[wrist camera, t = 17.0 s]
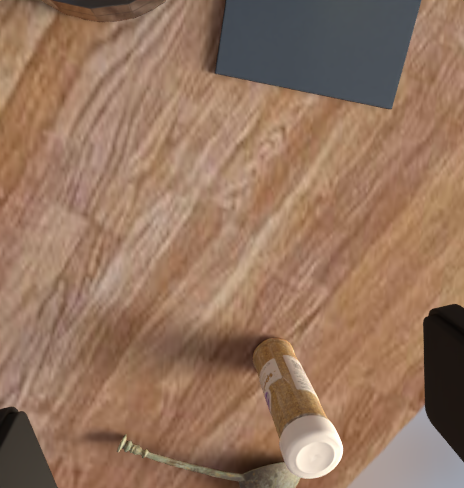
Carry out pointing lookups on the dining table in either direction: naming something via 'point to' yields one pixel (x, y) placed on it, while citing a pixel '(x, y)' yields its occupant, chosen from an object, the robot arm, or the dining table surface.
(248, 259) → the dining table surface
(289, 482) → the soupspoon
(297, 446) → the sprinkles bottle
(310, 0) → the napkin
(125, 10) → the pan
